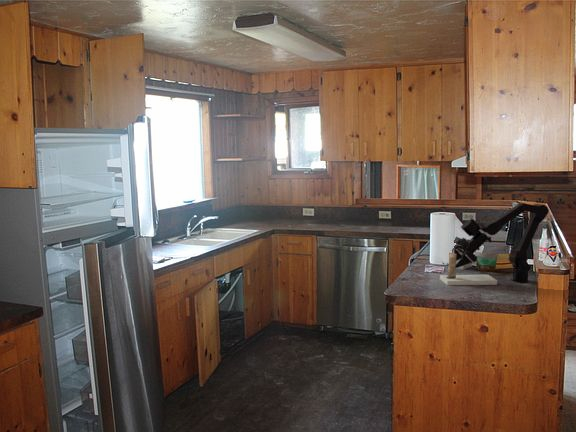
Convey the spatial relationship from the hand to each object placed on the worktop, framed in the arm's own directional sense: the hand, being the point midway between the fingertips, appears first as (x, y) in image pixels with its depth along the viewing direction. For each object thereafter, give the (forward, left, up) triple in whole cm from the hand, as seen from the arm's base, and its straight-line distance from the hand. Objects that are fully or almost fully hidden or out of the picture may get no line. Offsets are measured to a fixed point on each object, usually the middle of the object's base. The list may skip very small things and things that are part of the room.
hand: (452, 265), depth 259 cm
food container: (+12, -32, -9) cm, 35 cm away
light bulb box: (+24, -26, -9) cm, 37 cm away
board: (-3, -7, -8) cm, 11 cm away
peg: (0, 0, -8) cm, 8 cm away
